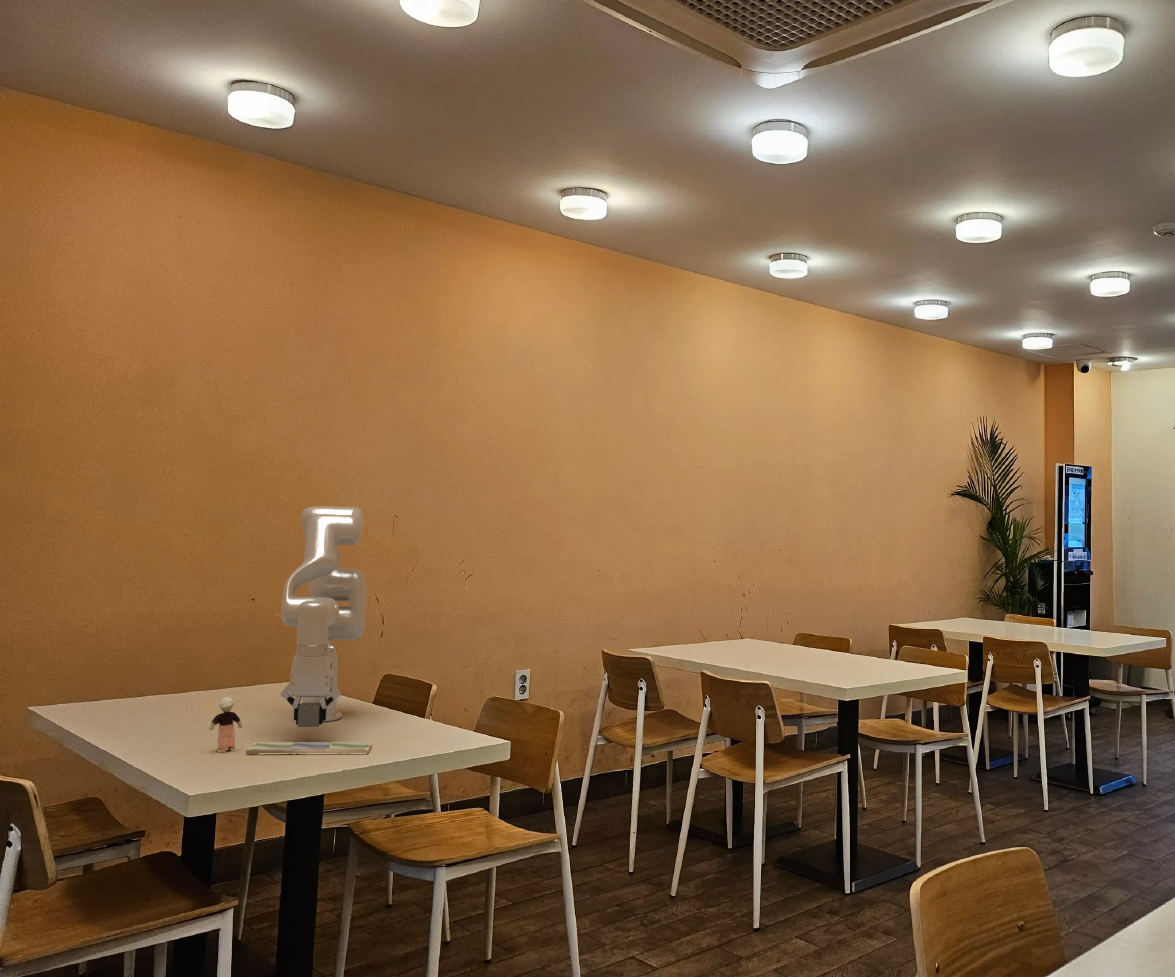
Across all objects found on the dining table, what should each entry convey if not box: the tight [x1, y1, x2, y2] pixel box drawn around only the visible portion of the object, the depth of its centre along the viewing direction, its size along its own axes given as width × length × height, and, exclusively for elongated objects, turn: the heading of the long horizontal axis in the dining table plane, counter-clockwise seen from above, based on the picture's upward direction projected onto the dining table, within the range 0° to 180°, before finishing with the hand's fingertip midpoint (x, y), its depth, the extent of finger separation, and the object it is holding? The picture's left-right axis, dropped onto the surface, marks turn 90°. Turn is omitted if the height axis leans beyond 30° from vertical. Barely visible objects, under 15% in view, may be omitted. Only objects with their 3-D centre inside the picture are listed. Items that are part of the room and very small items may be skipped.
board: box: [245, 741, 373, 755], centre depth 229 cm, size 9×28×1 cm, turn 96°
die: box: [297, 702, 321, 728], centre depth 240 cm, size 5×5×5 cm
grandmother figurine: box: [208, 696, 243, 753], centre depth 227 cm, size 8×4×13 cm, turn 141°
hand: (309, 722), depth 240 cm, fingers closed on die, 4 cm apart
